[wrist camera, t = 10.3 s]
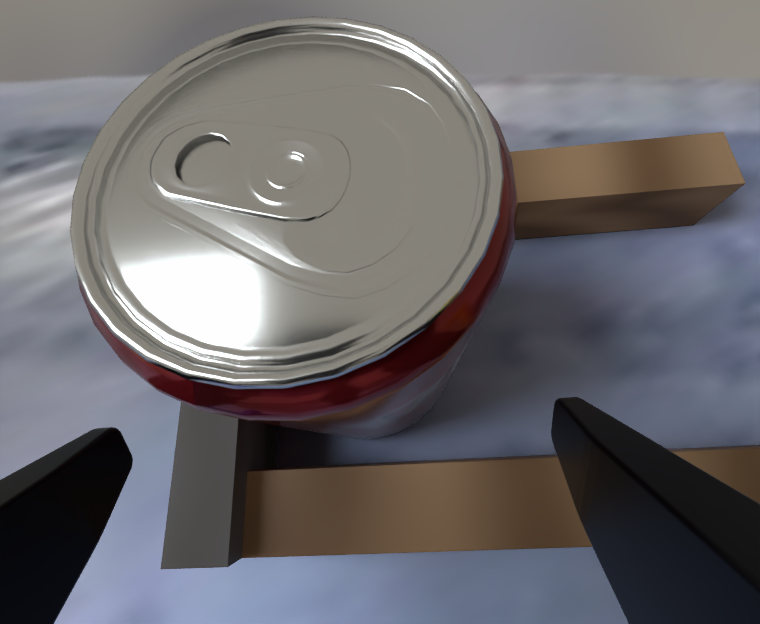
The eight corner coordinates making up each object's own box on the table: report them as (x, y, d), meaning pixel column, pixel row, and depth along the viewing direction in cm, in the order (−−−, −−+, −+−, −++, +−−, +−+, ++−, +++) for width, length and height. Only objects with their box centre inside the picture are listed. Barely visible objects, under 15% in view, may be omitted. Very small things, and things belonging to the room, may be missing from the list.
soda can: (468, 297, 18) (566, 28, 6) (427, 463, 15) (465, 503, 4) (318, 261, 19) (176, -19, 8) (261, 409, 17) (-56, 329, 5)
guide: (676, 179, 19) (742, 112, 15) (798, 518, 14) (942, 544, 10) (248, 217, 20) (210, 163, 16) (223, 539, 15) (160, 569, 11)
